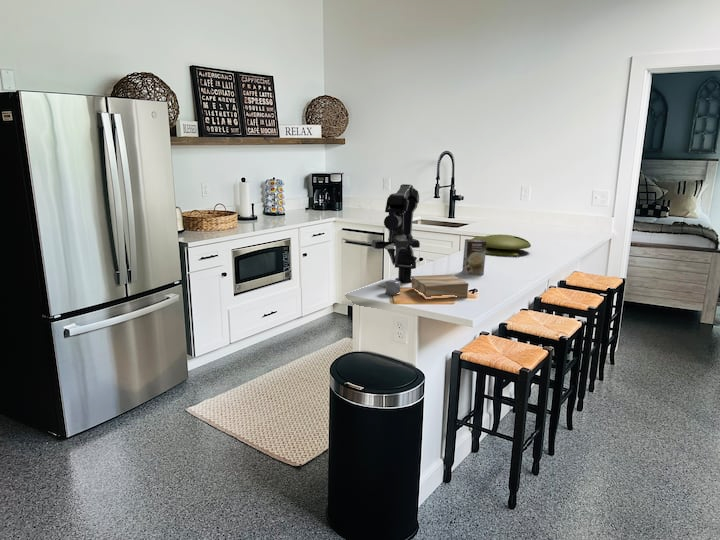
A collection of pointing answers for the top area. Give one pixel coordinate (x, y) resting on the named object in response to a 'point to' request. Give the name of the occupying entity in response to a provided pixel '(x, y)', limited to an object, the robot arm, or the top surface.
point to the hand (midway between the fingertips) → (394, 264)
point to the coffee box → (474, 257)
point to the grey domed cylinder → (392, 287)
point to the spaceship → (503, 244)
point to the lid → (439, 280)
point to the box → (441, 290)
